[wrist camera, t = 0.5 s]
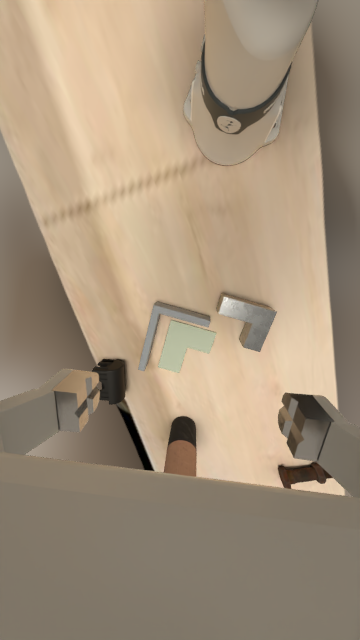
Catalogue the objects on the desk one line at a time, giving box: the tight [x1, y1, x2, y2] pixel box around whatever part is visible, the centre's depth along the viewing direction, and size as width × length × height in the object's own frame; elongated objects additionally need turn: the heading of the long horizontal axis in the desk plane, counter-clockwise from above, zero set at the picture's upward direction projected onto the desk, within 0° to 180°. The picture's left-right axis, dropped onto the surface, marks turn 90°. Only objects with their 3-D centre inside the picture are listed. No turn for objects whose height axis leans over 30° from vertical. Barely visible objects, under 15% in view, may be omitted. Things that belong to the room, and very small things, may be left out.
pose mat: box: [158, 320, 216, 373], centre depth 55 cm, size 14×12×1 cm
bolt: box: [278, 463, 333, 489], centre depth 62 cm, size 6×5×15 cm
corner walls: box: [138, 302, 210, 371], centre depth 53 cm, size 18×14×4 cm
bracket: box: [216, 293, 277, 352], centre depth 50 cm, size 10×12×5 cm
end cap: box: [92, 359, 125, 404], centre depth 56 cm, size 10×7×7 cm
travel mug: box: [164, 417, 196, 477], centre depth 53 cm, size 8×8×20 cm
